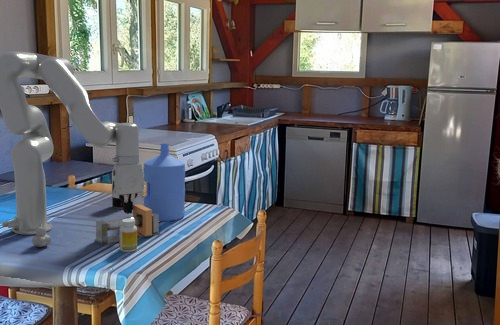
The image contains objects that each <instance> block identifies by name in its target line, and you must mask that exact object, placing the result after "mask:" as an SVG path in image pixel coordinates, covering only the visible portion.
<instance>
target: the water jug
mask: <svg viewBox="0 0 500 325" xmlns="http://www.w3.org/2000/svg"><path fill="white" fill-rule="evenodd" d="M159 145H160V149H159V150H160V154H159V155H157V156H155V157H153V158H150V159H148V160H146V161H145V162H143V177H144V183H146V195H145V196H144V198H143V206H145V207H147V208H149V209H151V210H152V212H154V213H156V214H159V222H173V221H178V220H181V219H182V218H184V216H185V214H186V209H185V199H186V198H185V196H186V188H185V187H186V186H185V184H186V183H185V180H186V179H185V178H186V163H185V162H184V161H182V160H181V159H178V158H176V157H174V156H172V155H170V152H169V151H170V148H169V146H170V144H169V143H160V144H159Z"/></svg>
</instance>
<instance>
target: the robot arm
mask: <svg viewBox="0 0 500 325" xmlns="http://www.w3.org/2000/svg"><path fill="white" fill-rule="evenodd" d="M74 72H75V71H74V66H73V65H72V63H71V62H70V61H69V60H68V59H66V58H65V57H64V58H63V57H58V56H52V55H45V54H40V53H35V52H29V51H16V50H14V51H8V52H7V51H6V52H5V53H2V54H1V55H0V112H1V114H2V117H3V121H4V125H5V126H6V129H7V130H8V132H9V134H12V135H15V136H22V139H20V140H19V141H17V142H16V143H15V144H14V145H13V147H12V149H11V152H10V157H11V163H12V167H13V173H14V186H15V188H14V189H15V205H16V208H15V209H16V216H13V218H14V219H11V220H9V221H8V220H7V221H1V227H2V228H7V229H12V233H15V234H17V235H25V236H26V235H27V236H28V235H30V236H31V235H37V234H36V228H37V226H38V225H39V226H40V222H41V225H44V226H45V228H46V233H47V232H49V231H50V230H51V229H52V228H53V225H52V224H53V223H51V222H49V221H48V213H47V212H48V209H47V191H46V190H47V189H46V187H47V184H46V174H45V170H44V165H43V162H46V161H48V160H49V159H51V157H52V156H53V154H54V144H53V143H54V141H53V139H52V135H51V133H50V129H49V126H48V122H47V119H46V117H45V115H44V112H42V110H41V109H40V108H38V107H37V106H35V105H32V104H29V103H28V100H27V97H26V93H25V91H24V88H23V87H22V85H21V84H20V83H21V82H20V81H19V80H20V79H21V78H30V79H37V80H43V82H44V83H45V84H46V85H47V87H49V89H50V90H51V91H52V92H53V93H54V94H55V96H56V97H57V98H58V99H59V101H60V102H61V104H63V105H64V107H65V108H66V111H67V114H68V116H69V117H70V119H71V122H72V124H74V126H75V128H76V129H77V130H78V131H79V133H80V134H81V135H82V137H84V139H85V141H87V142H88V143H89V144H91V146H94V147H97V148H103V147H105V146H107V145H110V144H113V143H115V156H114V157H113V158H111V161H112V162H113V163H114V164H113V168H112V170H113V171H112V172H113V174H112V173H111V192H112V191H113V194H112V193H111V195H112V197H114V198H120V199H121V200H122V201H123V208H122V211H123V213H125V214H126V215H129V214H133V205H134V201H135V200H136V198H137V197H138V196H141V195H143V192H144V191H145V181H144V169H143V165H142V163H141V162H140V160H139V158H140V155H139V154H140V152H139V151H140V149H139V148H140V144H139V142H140V141H139V136H140V135H139V132H140V130H139V126H138V124H137V123H133V122H121V123H120V122H114V121H107V120H105V121H101V120H100V119H99V117H97V115H96V114H95V112H94V111H93V110H92V107H91V106H90V102H89V94H88V92H87V90H86V88H84V86H83V84H81V83H80V82H79V80H78V78H76V77H75V75H74ZM127 194H128V197H127Z"/></svg>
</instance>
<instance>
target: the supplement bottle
mask: <svg viewBox="0 0 500 325" xmlns="http://www.w3.org/2000/svg"><path fill="white" fill-rule="evenodd" d="M126 218H127V217H126ZM122 225H123V226H121V227H120V229H119V234H120V242H119V250H120V252H123V253H131V252H135V251H137V249H138V239H137V227H136V226H135V219H131V218H127V219H123V220H122Z"/></svg>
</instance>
